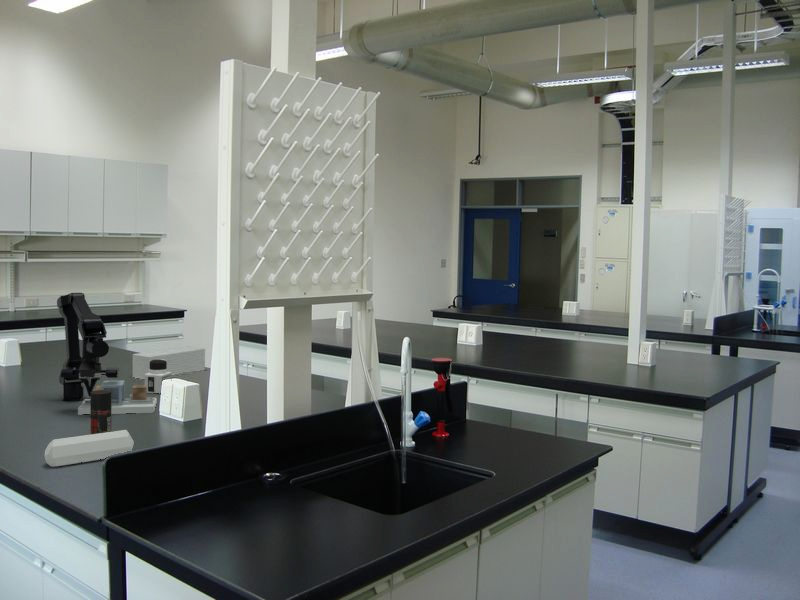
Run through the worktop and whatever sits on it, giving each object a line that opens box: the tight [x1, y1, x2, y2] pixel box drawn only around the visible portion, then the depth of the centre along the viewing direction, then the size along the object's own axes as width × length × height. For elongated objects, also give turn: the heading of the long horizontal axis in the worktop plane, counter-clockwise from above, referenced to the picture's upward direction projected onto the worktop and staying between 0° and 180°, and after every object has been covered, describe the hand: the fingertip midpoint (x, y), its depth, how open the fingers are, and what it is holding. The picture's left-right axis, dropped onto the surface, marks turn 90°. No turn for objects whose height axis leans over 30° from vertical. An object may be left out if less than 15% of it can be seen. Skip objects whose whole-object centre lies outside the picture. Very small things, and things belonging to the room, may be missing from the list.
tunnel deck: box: [77, 379, 158, 416], centre depth 261 cm, size 25×14×10 cm, turn 105°
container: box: [144, 359, 172, 395], centre depth 291 cm, size 8×8×13 cm
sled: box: [94, 384, 154, 402], centre depth 261 cm, size 19×5×5 cm, turn 105°
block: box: [131, 384, 148, 400], centre depth 262 cm, size 4×4×4 cm
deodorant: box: [89, 390, 112, 435], centre depth 222 cm, size 6×6×15 cm
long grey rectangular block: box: [132, 345, 206, 380], centre depth 328 cm, size 32×11×11 cm, turn 148°
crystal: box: [44, 429, 135, 468], centre depth 204 cm, size 7×7×24 cm
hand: (90, 396), depth 258 cm, fingers closed
